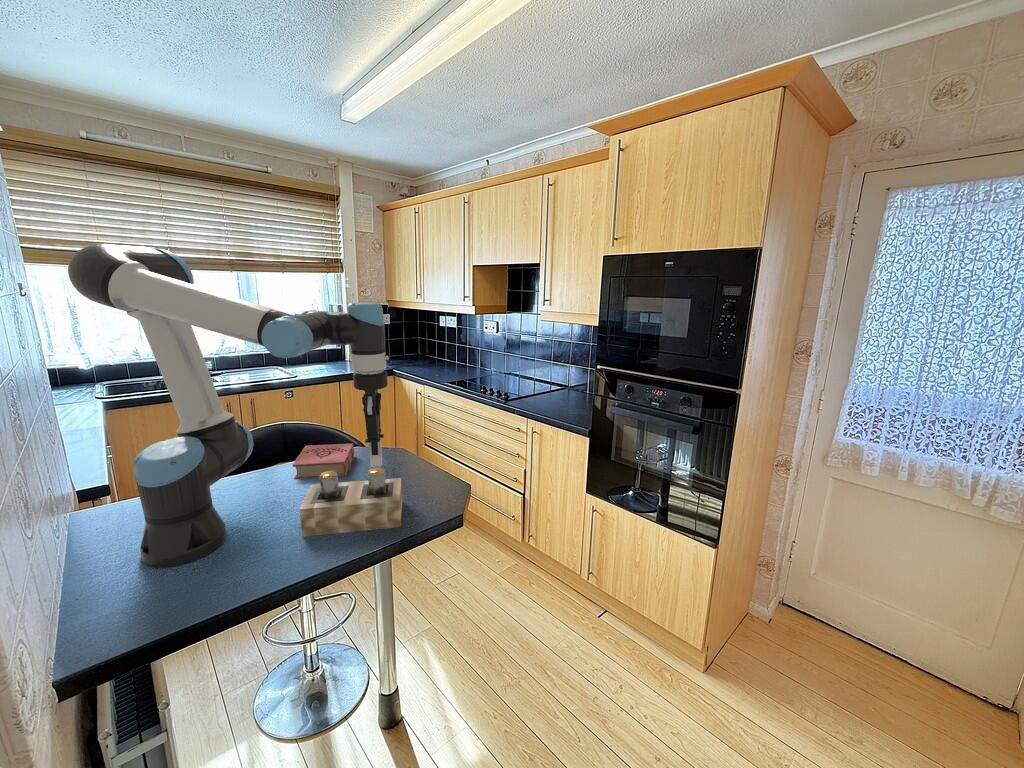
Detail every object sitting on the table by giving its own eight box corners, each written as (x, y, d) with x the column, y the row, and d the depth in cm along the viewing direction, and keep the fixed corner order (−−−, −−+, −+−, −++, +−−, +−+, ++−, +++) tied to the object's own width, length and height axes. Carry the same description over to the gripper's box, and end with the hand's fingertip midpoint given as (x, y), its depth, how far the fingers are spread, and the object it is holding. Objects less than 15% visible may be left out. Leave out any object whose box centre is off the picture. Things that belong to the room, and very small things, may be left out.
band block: (302, 536, 99) (299, 508, 97) (314, 509, 111) (311, 484, 109) (400, 526, 104) (399, 500, 102) (402, 501, 115) (401, 477, 113)
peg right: (368, 500, 105) (366, 475, 103) (370, 492, 108) (368, 468, 107) (385, 499, 105) (384, 474, 104) (386, 491, 109) (385, 466, 108)
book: (348, 477, 129) (347, 461, 128) (294, 480, 127) (292, 464, 125) (356, 457, 143) (355, 443, 142) (307, 460, 140) (305, 445, 139)
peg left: (320, 504, 102) (317, 478, 101) (323, 496, 106) (321, 471, 104) (338, 503, 103) (335, 477, 102) (340, 495, 107) (338, 470, 105)
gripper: (384, 376, 94) (390, 475, 100) (388, 364, 106) (393, 453, 112) (348, 377, 92) (356, 478, 98) (356, 365, 105) (363, 455, 110)
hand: (376, 465), depth 105 cm, fingers closed
